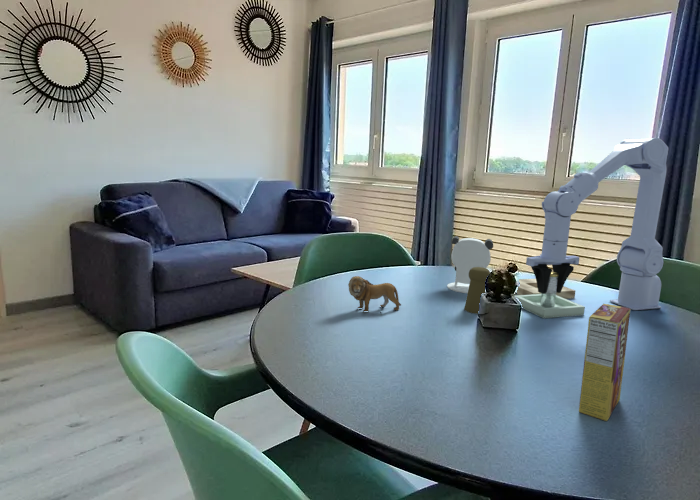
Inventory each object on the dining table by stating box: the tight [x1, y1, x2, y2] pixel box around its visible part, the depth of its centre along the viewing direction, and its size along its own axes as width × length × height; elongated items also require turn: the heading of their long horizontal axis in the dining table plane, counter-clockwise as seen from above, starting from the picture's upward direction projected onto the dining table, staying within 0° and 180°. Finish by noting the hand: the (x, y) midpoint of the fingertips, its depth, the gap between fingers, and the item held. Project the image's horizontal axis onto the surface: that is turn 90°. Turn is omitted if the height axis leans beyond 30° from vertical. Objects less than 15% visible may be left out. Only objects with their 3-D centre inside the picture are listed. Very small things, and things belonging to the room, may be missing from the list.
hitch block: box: [516, 278, 576, 300], centre depth 136 cm, size 14×14×2 cm
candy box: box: [578, 303, 632, 422], centre depth 71 cm, size 9×4×15 cm, turn 140°
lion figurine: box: [347, 275, 402, 312], centre depth 114 cm, size 15×5×9 cm, turn 115°
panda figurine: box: [446, 235, 494, 294], centre depth 137 cm, size 12×11×15 cm
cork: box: [463, 267, 491, 315], centre depth 117 cm, size 6×6×11 cm
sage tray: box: [515, 294, 586, 319], centre depth 120 cm, size 12×12×2 cm
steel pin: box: [540, 271, 559, 308], centre depth 119 cm, size 4×4×9 cm
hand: (549, 292), depth 119 cm, fingers open, 4 cm apart
